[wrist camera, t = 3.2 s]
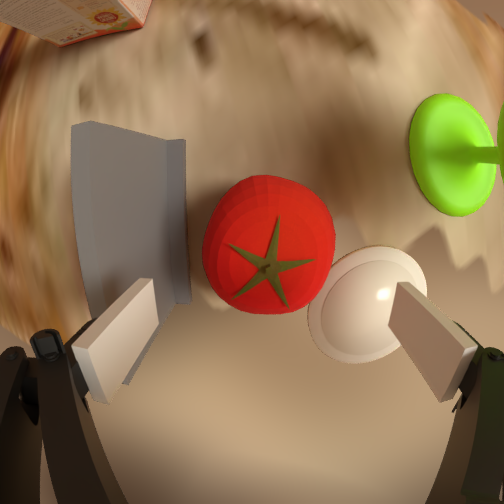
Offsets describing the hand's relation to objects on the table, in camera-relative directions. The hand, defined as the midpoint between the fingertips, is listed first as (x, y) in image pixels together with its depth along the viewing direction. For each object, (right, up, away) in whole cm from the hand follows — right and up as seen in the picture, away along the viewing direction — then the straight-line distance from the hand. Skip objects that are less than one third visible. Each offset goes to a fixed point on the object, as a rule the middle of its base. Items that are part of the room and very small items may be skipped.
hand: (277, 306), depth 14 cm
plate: (+13, -4, +18) cm, 22 cm away
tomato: (0, +5, +16) cm, 16 cm away
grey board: (-11, +6, +15) cm, 20 cm away
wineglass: (+24, +15, +12) cm, 31 cm away
